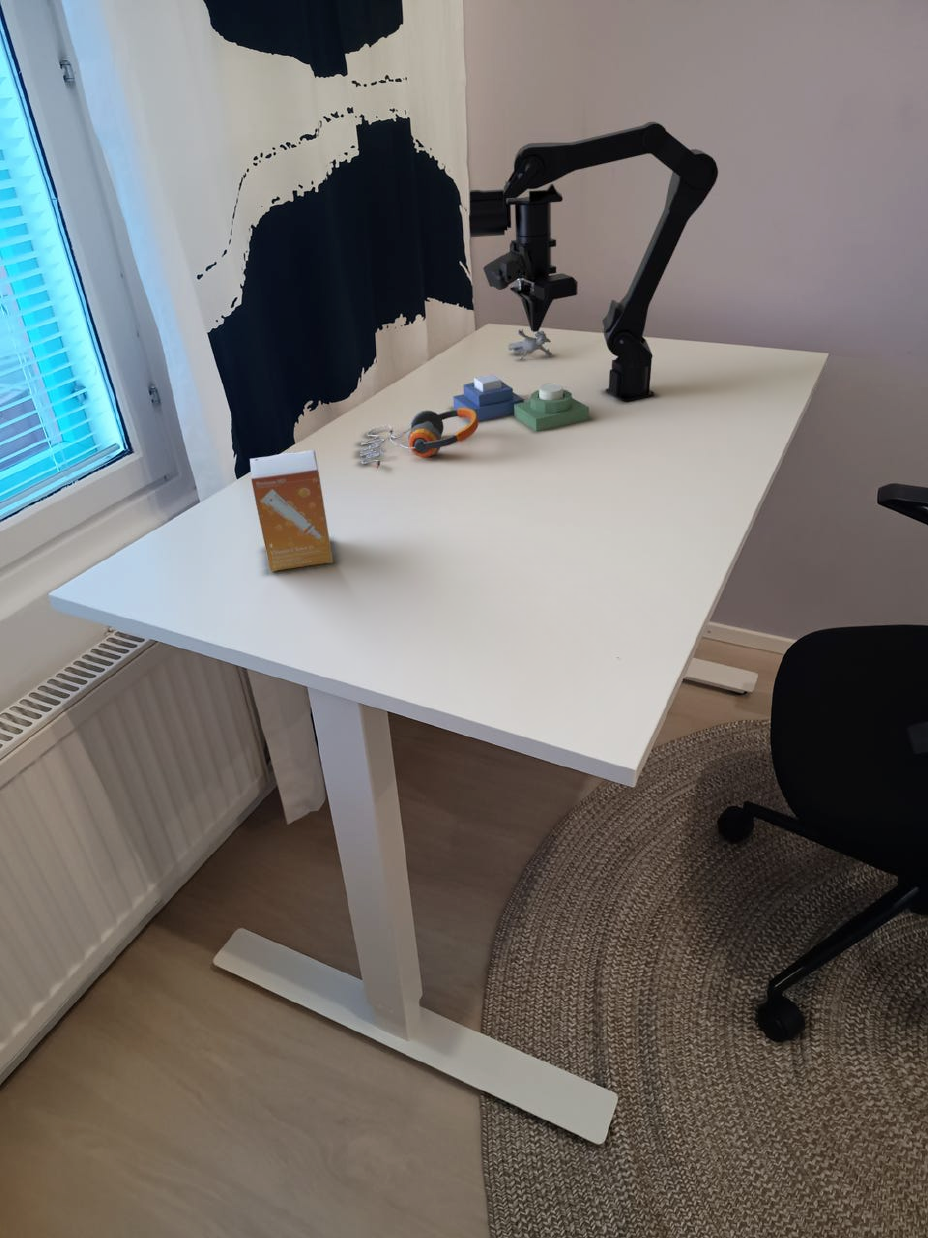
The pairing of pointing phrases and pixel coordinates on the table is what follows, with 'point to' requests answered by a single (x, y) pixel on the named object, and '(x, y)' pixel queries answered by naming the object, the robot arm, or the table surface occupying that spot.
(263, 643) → the table surface
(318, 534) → the small box
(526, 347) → the grey figurine
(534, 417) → the green switch
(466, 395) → the blue switch
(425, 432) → the headphones
